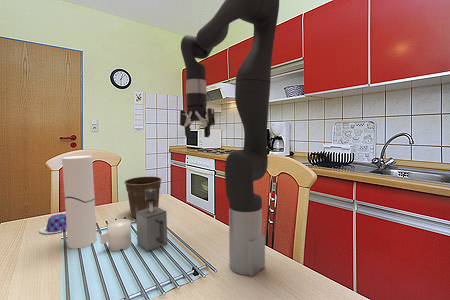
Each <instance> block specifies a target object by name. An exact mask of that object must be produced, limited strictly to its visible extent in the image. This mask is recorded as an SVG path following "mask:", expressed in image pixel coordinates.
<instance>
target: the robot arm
mask: <svg viewBox="0 0 450 300" xmlns="http://www.w3.org/2000/svg"><path fill="white" fill-rule="evenodd" d="M279 11H280V0H224V1H223V2H222V4H221V6H220V7H219V9H218V10H217V12H216V13H215V14H214V15H213V17H211V19H210V20H209V21H208V22H206V24H204V25H203V26H202V27H201V28H200V29H199V30H198V32H197V33H196V36H194V35H190V34H186V35H184V36H183V37H182V39H181V41H180V51H181V55H182V59H183V62H184V67H185V71H186V72H185V73H186V74H185V75H186V79H185V80H186V84H185V97H186V99H185V101H186V107H187V108H186V110H185V109H181V110H180V115H179V116H180V119H179V124H180V126H181V127H184V136H185V137H186V138H191V137H192V133H191V130H192V129H191V125H192V124H193V123H195V122H201V123H202V125H203V126H204V127H203V131H204V133H203V136H204V138H209V137H210V136H211V127H212V126H214V125H216V124H215V123H216V119H215V109H214V108H212V107H211V108H210V107H208V108H207V105H208V103H207V101H208V99H207V98H208V97H207V93H208V92H207V82H206V80H207V79H206V78H207V77H206V74H207V73H206V66H205V65H204V64H203V63H200V62H198V61H197V60H196V59H199V60H203V59H204V60H205V59H207V58H208V57H209V56H210V55H211V52H212V51H213V49H214V48H216V47H217V46H219V45H220V44H221V43H222V42H224V40H226V38H227V36H228V33H229V28H230V27H229V26H230V24H231V23H233V22H234V21H237V20H239V19H240V20H241V21H243V22H246V23H249V24H252V25H253V36H252V37H253V38H252V44H251V47H250V49H249V52H248V53H247V55H246V56H245V57H244V60H243V61H242V62H241V64H240V66H239V68H238V70H237V72H236V75H235V87H234V89H235V90H234V93H235V94H234V101H235V106H236V110H237V111H238V112H237V113H238V116H239V118H240V121H241V124H242V127H243V132H244V134H243V137H244V139H243V148H242V149H237V150H233V151H231V152H230V153H229V154H228V155H227V157H226V160H225V163H224V178H225V180H224V181H225V194H226V197H227V201H228V247H229V249H228V250H229V251H228V252H229V255H228V257H229V262H228V263H229V268H230V270H231V271H233V272H234V273H236V274H239V275H242V276H243V275H246V276H250V277H253V276H255V275H256V274H258V273H259V272H260V271H261V270H262V269H265V267H266V263H265V262H266V261H265V259H266V253H265V252H266V235H265V234H264V233H263V198H262V197H261V196H260V195H259V194H257V193H255V191H254V182H256V181H259V180H261V179H262V178H264V176H265V174H266V173H267V171H268V162H269V157H268V152H269V151H268V123H269V122H268V120H269V105H270V96H271V95H270V94H271V78H272V77H271V76H272V74H271V73H272V60H273V54H274V53H273V50H274V43H275V42H274V41H275V35H276V31H277V23H278V19H279V18H278V17H279Z"/></svg>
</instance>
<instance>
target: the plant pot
mask: <svg viewBox="0 0 450 300" xmlns="http://www.w3.org/2000/svg"><path fill="white" fill-rule="evenodd" d="M162 180H163V179H162V178H161V177H158V176H139V177H138V176H137V177H133V178H132V177H131V178H129V179H126V180H124V182H123V183H124V184H125V188H126V189H125V190H126V192H127V197H128V203H129V211H130V216H131V218H135V219H136V212H137V211H140V210H144V209H148V208H150V206H149V202H146V201H145V190H146V189H156V201H152V203H153V207H155V206H156V207H158V208H160V207H159V203H160V189H161V183H162Z"/></svg>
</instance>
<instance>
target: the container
mask: <svg viewBox="0 0 450 300" xmlns="http://www.w3.org/2000/svg"><path fill="white" fill-rule="evenodd" d="M61 160H62V161H61V164H62V177H63V192H64V205H65V206H64V207H65V214H66V223H67V230H66V233H67V234H66V237H67V238H66V239H67V246H68V248H69V249H73V250H76V249H78V248H79V249H83V248H86V247H89V246H92V245H93V244H96V242H97V240H98V238H97V219H96V218H97V217H96V216H97V215H96V200H95V199H96V198H95V183H94V165H93V156H92V155H73V156H64V157H61ZM91 243H93V244H92V245H91Z"/></svg>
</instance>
